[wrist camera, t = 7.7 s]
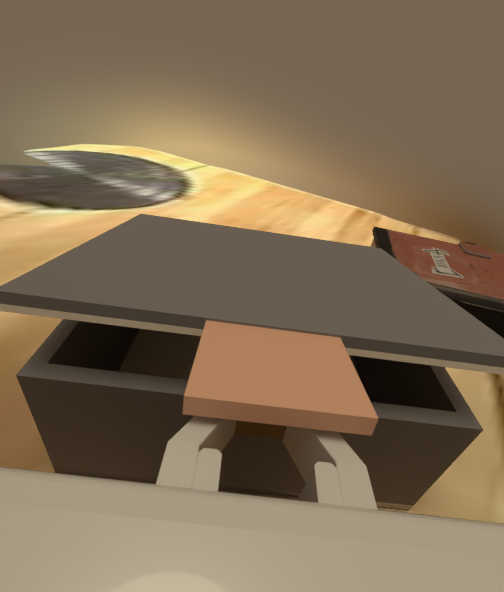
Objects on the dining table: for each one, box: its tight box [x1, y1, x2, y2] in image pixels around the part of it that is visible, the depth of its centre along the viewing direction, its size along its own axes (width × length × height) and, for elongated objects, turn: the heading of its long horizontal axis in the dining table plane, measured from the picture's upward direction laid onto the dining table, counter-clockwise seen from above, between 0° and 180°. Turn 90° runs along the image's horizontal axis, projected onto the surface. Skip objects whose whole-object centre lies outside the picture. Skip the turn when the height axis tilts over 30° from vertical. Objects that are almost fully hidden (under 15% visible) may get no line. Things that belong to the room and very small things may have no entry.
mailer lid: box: [0, 214, 504, 436], centre depth 17 cm, size 20×20×1 cm
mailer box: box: [16, 319, 483, 510], centre depth 22 cm, size 20×16×8 cm
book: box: [371, 227, 504, 338], centre depth 39 cm, size 26×18×5 cm
